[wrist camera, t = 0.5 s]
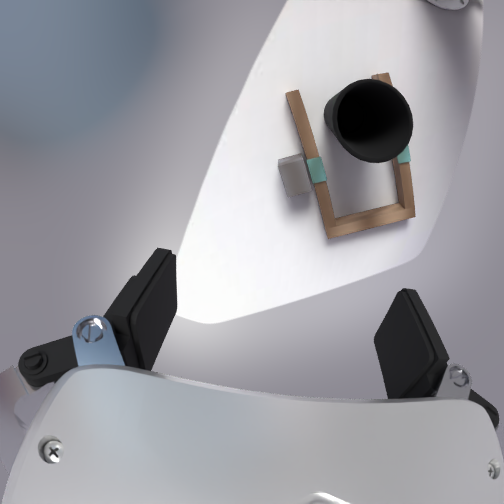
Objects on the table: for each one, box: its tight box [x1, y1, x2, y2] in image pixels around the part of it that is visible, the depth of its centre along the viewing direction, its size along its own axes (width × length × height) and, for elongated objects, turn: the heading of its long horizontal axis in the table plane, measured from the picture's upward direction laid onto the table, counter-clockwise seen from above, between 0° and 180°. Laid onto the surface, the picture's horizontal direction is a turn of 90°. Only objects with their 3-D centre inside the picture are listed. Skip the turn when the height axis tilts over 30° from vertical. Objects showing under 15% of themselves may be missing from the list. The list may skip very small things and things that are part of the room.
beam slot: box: [278, 73, 415, 239], centre depth 32 cm, size 17×20×4 cm
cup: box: [324, 79, 413, 163], centre depth 26 cm, size 8×8×12 cm
